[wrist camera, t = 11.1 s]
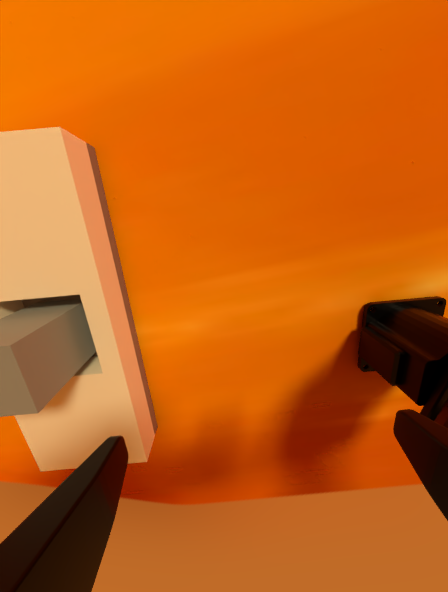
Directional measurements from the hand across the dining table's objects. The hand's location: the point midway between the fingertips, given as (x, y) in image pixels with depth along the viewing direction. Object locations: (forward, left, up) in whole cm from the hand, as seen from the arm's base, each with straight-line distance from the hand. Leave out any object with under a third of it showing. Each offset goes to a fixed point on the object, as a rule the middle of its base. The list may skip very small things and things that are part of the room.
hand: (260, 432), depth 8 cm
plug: (+13, 0, -11) cm, 17 cm away
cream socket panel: (+13, 0, -12) cm, 18 cm away
